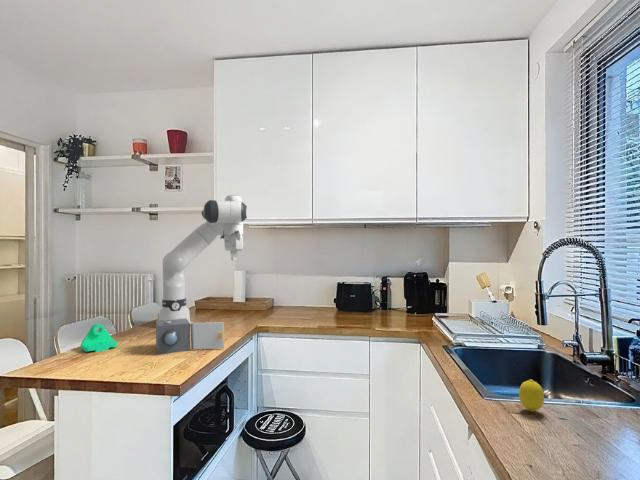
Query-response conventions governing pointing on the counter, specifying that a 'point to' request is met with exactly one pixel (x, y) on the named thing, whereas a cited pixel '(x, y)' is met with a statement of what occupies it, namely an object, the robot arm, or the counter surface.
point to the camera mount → (98, 339)
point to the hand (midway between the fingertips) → (233, 260)
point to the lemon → (531, 395)
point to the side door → (207, 335)
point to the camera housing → (172, 336)
